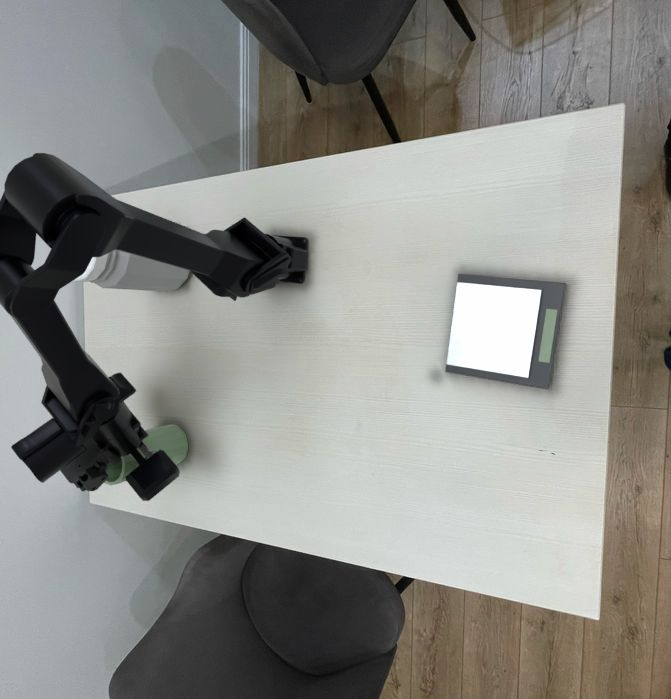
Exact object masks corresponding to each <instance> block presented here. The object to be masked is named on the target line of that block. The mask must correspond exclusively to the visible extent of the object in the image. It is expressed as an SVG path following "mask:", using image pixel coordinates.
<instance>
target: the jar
mask: <svg viewBox="0 0 671 699" xmlns="http://www.w3.org/2000/svg"><path fill="white" fill-rule="evenodd" d="M190 273H191V272H190V271H189V270H187V269H183V268H179V267H176V266H172V265H169V264H165V263H162V262H158V261H155V260H151V259H147V258H144V257H140V256H137V255H133V254H130V253H126V252H123V251H119V250H114V251H112V252H110V253H107V254H105V255H103V256H101V257H92V259H91V261H90V263H89V265H88V267H87V269H86V271H85V272H84V273H83V274H82V275H81V276H79V277H78V278H76V279H75V280H73V281H72V282H79V283H81V282H82V283H87V282H89V283H93V284H95V285H96V286H98V287H100V288H102V289H111V290H132V291H150V292H165V293H166V292H170V291H175V290H178V289H179V288H181V286H182V285H183V284H184V283H185V282H186V281H187V280H188V278H189V275H190Z"/></svg>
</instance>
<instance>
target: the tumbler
mask: <svg viewBox="0 0 671 699" xmlns="http://www.w3.org/2000/svg"><path fill="white" fill-rule="evenodd" d="M144 430H145V431H146V432H147V434H148V435H149V436H147V437H146V438H145V439H143V440H142V441H143V443H144V444H145V445H146V446H147V447H148V448H149V450H150V451H159V450H160V449H161V450H164V452H165V453H166V454H167V455H168V456H169V457H170V459H171V460H172V461H173V462H174V463H175V464H176V465H178V464H179V463H181V462H183V461H184V460H185V459H186V458H187V455H188V451H189V441H188V437H187V435H186V433H185V431H184V430H183V429H182V428H181V427H180V426H178V425H177V424H173V423H169V424H166V425H162V426H157V427H152V428H149V429H144ZM137 450H138V451H139V452H140V454H141V455H142V456H143V457H144V458H145V456H146V455H144V453H142V452H141V451H140V450H141V449H140V450H139V448H137ZM120 458H121V461H120V462H118V463H117V464H116V465H114V466H113V465H112V464H111V462H110V463H109V464H107V466H108V468H107V469H106V473H107V474H108V479H107V480H106V481H105V482H104V483H103V484H106V485H109V486H114V485H119V484H122V483H125V482H127V481H126V478H125V477H126V476H127V475H128V474H129V473H130V472H132V471H133V470H134V469H136V468H137V466H136V464H137V463H138V462H137V461H136V460H135V458H134V457H133V456H132V455H131V454H129V455H127V456H123V457H120ZM148 458H149V457H148Z"/></svg>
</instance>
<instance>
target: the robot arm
mask: <svg viewBox="0 0 671 699" xmlns="http://www.w3.org/2000/svg"><path fill="white" fill-rule="evenodd" d="M37 236H38V237H39V238H40V239H41V240H42V241H43V242H44V243H45V244H46V245H47V246H48V247H49V248H50V251H49V253H48V255H47V256H46V259H45V260H44V263H43V264H41V265H40V266H38V267H37V268H34V267H33V266H32V265H33V263H34V261H35V256H36V242H37ZM308 249H309V239H308V238H307V237H305V236H291V235H290V236H289V235H276V234H275V235H274V234H269V233H264V232H263V231H262V230H261V229H259V228H258V227H257V226H256V225H254V223H253V222H252V221H251V220H249V219H248V218H247V217H242V218H241V219H239V220H238V221H236V222H235V223H233V224H231V225H230V226H228V227H227V228H225V229H224V230H222V229H221V230H220V229H212V230H210V231H208V232H206V233H203V232H200V231H198V230H196V229H192V228H191V227H190V228H189V227H188V226H185V225H182V224H180V223H178V222H175V221H172V220H170V219H167V218H165V217H163V216H159V215H157V214H154V213H152V212H150V211H147V210H145V209H143V208H139V207H137V206H134V205H132V204H129V203H127V202H124V201H123V200H119V199H117V198H115V197H114V196H112V195H111V194H110V193H108V192H107V191H105V190H104V189H103V188H102V187H100V186H99V185H98V184H96V183H95V182H94V181H92V180H91V179H90V178H89V177H87V176H86V175H84V173H82V172H80V171H78V170H77V169H76V168H74V167H73V166H72V165H70V164H68V163H67V162H65V161H64V160H62V159H60V158H59V157H57V156H56V155H54V154H50V153H46V152H35V153H33V154H32V156H29V157H26V158H23V159H21V161H19V162H18V163H16V164H14V166H13V167H12V168H11V170H10V171H9V173H8V174H7V175H6V178H5V181H4V191H3V193H2V196H1V198H0V305H1V307H2V308H3V309H4V310H5V311H6V313H7V314H8V315H9V316H10V317H11V318H12V320H13V322H14V323H15V324H16V326H17V327H18V328H19V329H20V331H21V332H22V334H23V335H24V337H25V338H26V339H27V341H28V342H29V344H30V345H31V347H32V348H33V350H34V351H35V352H36V353H37V355H38V356H39V358H40V361H41V364H42V365H41V368H40V370H41V372H42V376H43V379H44V381H45V389H44V392H43V395H42V399H41V403H40V404H42V406H43V407H44V408H45V410H46V411H47V412H48V413H49V414H50V416H51V418H50V419H49V420H47V421H46V422H44V423H43V424H42V425H40V426H38V427H37V428H36V429H34V430H32V431H31V432H30V433H29V434H27V435H26V436H24V437H22V438H20V439H19V440H18V441H16V442H15V443H13V444H12V445H11V446H10V448H11V450H12V451H13V452H14V454H15V455H16V456H17V457H18V459H19V460H20V461H22V462H23V463H24V465H25V466H26V467H27V468H28V469H29V471H30V472H31V473H32V474H33V476H34V478H35V479H36V480H37V481H39V482H40V483H45V482H46V481H48V480H49V479H51V478H52V477H53V476H54V475H56V474H57V473H59V472H61V474H62V475H63V476H64V478H65V479H66V480H67V482H68V483H69V484H73V485H74V486H75V487H76V489H80V491H81V492H87V491H88V492H95V491H97V490H98V489H99V488H101V486H102V485H103V484H105V483H104V482H105V481H106V480H107V479H108V474H107V473H106V469H107V468H108V466H107V464H109V463H110V462H111V464H112V465H113V466H114V465H116V464H117V463H118V462H120V461H121V458H120V457H123V456H127V455H129V454H131V455H132V456H133V457H134V458H135V460H136V461H137V462H138V463H137V464H136V466H137V468H136V469H134V470H133V471H132V472H130V473H129V474H128V475H127V476H126V477H125V478H126V481H125V482H127V484H128V485H129V486H130V487H131V489H132V490H133V491H134V492H135V494H137V496H138V498H140V499H141V501H142V502H150V501H151V500H152V499H153V498H155V497H156V496H157V495H158V494H159V493H161V492H162V491H163V490H164V489H165V488H167V487H168V486H169V485H171V484H172V483H173V482H174V481H175V480H176V479H178V478H179V477H180V472H181V469H179V467H178V465H177V464H175V463H174V462H173V461H172V460H171V459H170V457H169V456H168V455H167V454H166V453H165V452H164V450H161V449H160V450H159V451H150V450H149V448H148V447H147V446H146V445H145V444H144V443H143V441H142V440H143V439H145V438H146V437H147V436H149V435H148V434H147V432H146V431H145V430H146V429H144V427H143V426H142V423H141V422H140V420H139V419H138V418H137V417H136V415H135V414H134V413H133V412H132V411H131V410H130V408H129V407H128V404H127V403H126V402H125V401H126V400H127V399H129V398H130V397H131V396H133V395H134V394H135V393H136V392H137V389H136V388H135V387H134V385H133V384H132V383H131V381H129V380H128V378H126V377H125V375H123V373H122V372H116V373H113V374H112V375H110V376H108V375H107V373H106V371H104V370H103V369H102V367H100V366H99V365H98V363H97V362H96V361H95V360H94V358H92V356H91V355H90V354H89V353H87V351H86V350H85V349H83V348H82V346H81V344H80V343H79V340H78V339H77V337H76V335H75V333H74V332H73V331H72V328H71V327H70V325H69V322H68V321H67V320H66V317H65V316H64V315H63V313H62V311H61V310H60V308H59V305H58V304H57V302H56V300H55V299H56V297H57V295H58V293H59V292H60V290H61V289H62V288H64V287H66V286H67V285H69V284H71V283H72V282H74V281H73V280H75V279H76V278H78V277H79V276H81V275H82V274H83V273H84V272H85V271H86V269H87V267H88V265H89V263H90V261H91V259H92V257H101V256H103V255H105V254H107V253H110V252H112V251H114V250H119V251H123V252H126V253H130V254H133V255H137V256H140V257H144V258H147V259H151V260H155V261H158V262H162V263H165V264H169V265H172V266H176V267H179V268H183V269H187V270H189V271H190V272H189V273H191V274H192V275H193V276H194V277H195V278H197V279H198V280H199V281H200V282H201V283H202V284H203V285H204V286H205V287H206V288H207V289H208V290H209V291H210V292H211V293H213V294H214V296H217V297H220V298H230V299H231V300H232V301H233V302H236V301H237V299H238V298H248V297H250V296H252V295H256V294H258V293H262V292H264V291H267V290H270V289H274V288H276V286H277V284H278V283H279V282H281V283H290V284H297V285H298V284H299V285H302V284H304V282H305V279H306V270H307V265H308V257H309V256H308V254H309V253H308ZM137 448H139V450H140V449H141V450H140V451H141V452H142V453H144V455H146V456H145V458H144V457H143V456H142V455H141V454H140V452H139V451H138V450H137ZM148 457H149V458H148Z"/></svg>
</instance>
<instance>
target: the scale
mask: <svg viewBox="0 0 671 699" xmlns="http://www.w3.org/2000/svg"><path fill="white" fill-rule="evenodd" d="M566 288H567V284H566V283H565V282H558V281H545V280H535V279H523V278H513V277H512V278H510V277H500V276H489V275H488V276H487V275H479V274H478V275H476V274H475V275H474V274H466V273H464V274H463V273H457V280H456V287H455V294H454V302H453V309H452V317H451V325H450V331H449V332H450V333H449V339H448V348H447V354H446V360H445V369H444V370H445V373H450V374H456V375H462V376H467V377H474V378H479V379H486V380H492V381H497V382H503V383H507V384H514V385H519V386H526V387H533V388H539V389H543V390H549V389H550V388H551V384H552V379H553V378H552V377H553V371H554V365H555V360H556V353H557V348H558V347H557V346H558V339H559V334H560V328H561V322H562V314H563V309H564V308H563V307H564V301H565V295H566Z"/></svg>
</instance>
